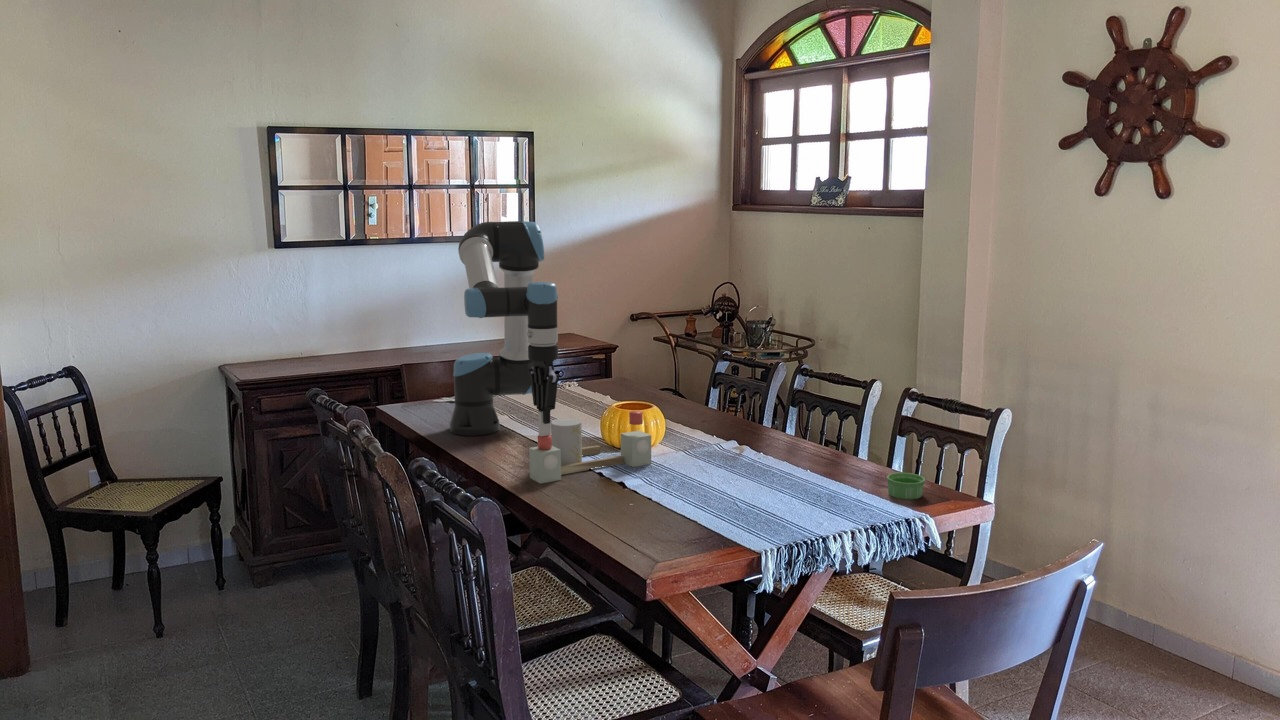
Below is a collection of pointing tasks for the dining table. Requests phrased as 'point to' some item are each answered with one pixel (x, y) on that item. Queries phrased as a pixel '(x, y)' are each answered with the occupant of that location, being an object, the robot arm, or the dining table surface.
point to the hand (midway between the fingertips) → (544, 434)
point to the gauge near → (545, 442)
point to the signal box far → (636, 448)
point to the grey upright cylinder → (567, 439)
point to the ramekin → (905, 485)
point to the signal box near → (545, 464)
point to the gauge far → (635, 417)
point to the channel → (593, 463)
